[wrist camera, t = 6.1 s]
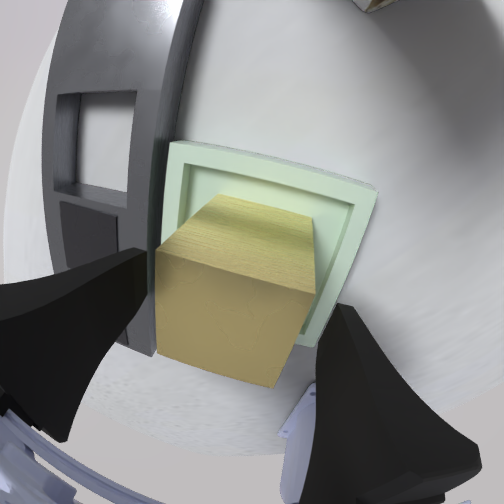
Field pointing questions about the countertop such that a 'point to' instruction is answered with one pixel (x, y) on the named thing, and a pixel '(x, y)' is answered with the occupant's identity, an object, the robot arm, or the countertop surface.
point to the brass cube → (235, 289)
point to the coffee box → (372, 4)
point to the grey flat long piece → (142, 137)
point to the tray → (279, 196)
